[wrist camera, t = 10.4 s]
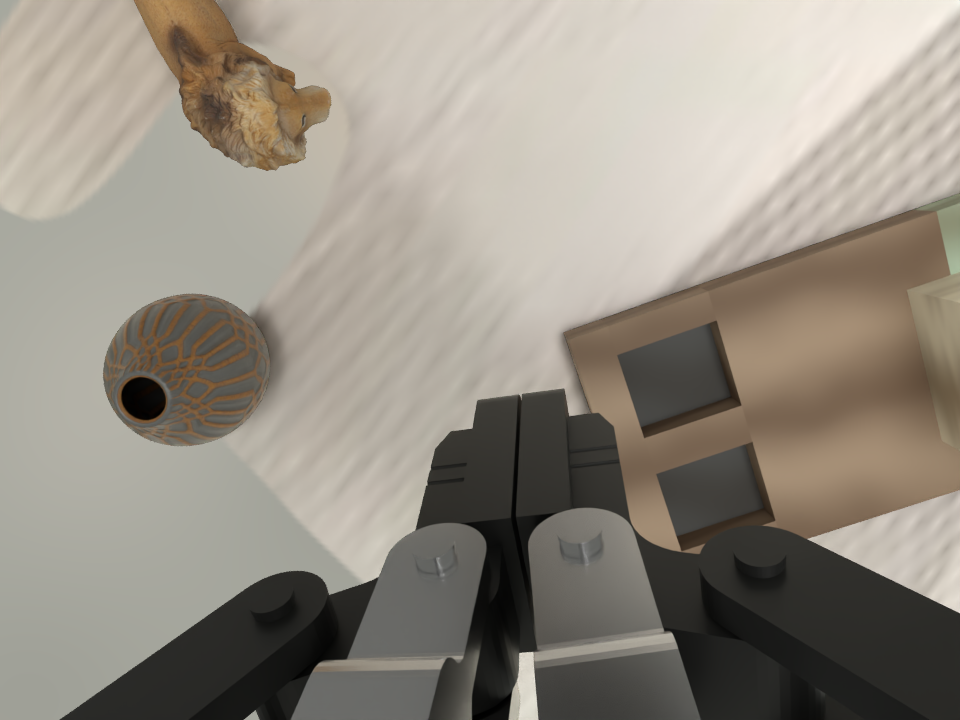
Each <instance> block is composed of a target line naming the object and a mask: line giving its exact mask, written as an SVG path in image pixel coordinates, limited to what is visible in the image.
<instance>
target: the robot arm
mask: <svg viewBox="0 0 960 720" xmlns="http://www.w3.org/2000/svg"><path fill="white" fill-rule="evenodd" d="M427 483H428V486H426V489H425V493H424V497H423V502H422V506H421V510H420V514H419V518H418V522H417V526H416V530H415V531H414V532H412V533H410V534H408V535H407V536H405V537H404V538H402V539H401V540H400V541H399V542H398V543H397V544H396V545H395V546H394V547H393V548H392V549H391V551H390V552H389V554H388V556H387V558H386V560H385V563H384V565H383V568H382V571H381V573H380V576H379V577H378V578H376V579H374V580H372V581H369V582H367V583H364V584H361V585H358V586H355V587H352V588H349V589H346V590H343V591H340V592H337V593H334V594H331V595H329V593H328V590H327V587H326V584H325V582H324V581H323V580H322V579H321V578H320V577H318V576H317V575H315V574H313V573H309V572H305V571H291V572H290V571H289V572H284V573H279V574H275V575H272V576H270V577H267V578H264V579H262V580H260V581H258V582H256V583H254V584H253V585H251V586H250V587H248V588H246V589H245V590H244V591H242V592H241V593H239V594H238V595H236V596H235V597H234V598H233V599H231V600H229V601H228V602H227V603H225V604H224V605H222V606H221V607H219V608H218V609H217V610H215V611H214V612H212V613H211V614H209V615H208V616H207V617H205V618H204V619H202V620H201V621H200V622H198V623H197V624H195V625H194V626H192V627H191V628H190V629H188V630H187V631H185V632H184V633H182V634H181V635H180V636H178V637H177V638H175V639H174V640H172V641H171V642H170V643H168V644H167V645H165V646H164V647H163V648H161V649H160V650H158V651H157V652H155V653H154V654H153V655H151V656H150V657H148V658H147V659H146V660H144V661H143V662H141V663H140V664H138V665H137V666H135V667H134V668H133V669H131V670H130V671H128V672H127V673H126V674H124V675H123V676H121V677H120V678H118V679H117V680H116V681H114V682H113V683H112V684H110V685H108V686H107V687H106V688H104V689H103V690H101V691H100V692H98V693H97V694H96V695H94V696H93V697H92V698H90V699H89V700H87V701H86V702H84V703H83V704H81V705H80V706H79V707H77V708H76V709H74V710H73V711H72V712H70V713H69V714H67V715H66V716H64V717H63V718H62V719H60V720H244V719H245V718H246V717H248V716H249V715H250V714H251V713H252V712H254V711H255V710H256V712H257V715H258V717H259V719H260V720H518V717H519V709H520V693H519V688H518V684H517V678H518V672H519V653H522V652H534V671H535V682H536V694H537V706H538V718H539V720H960V613H958V612H956V611H954V610H952V609H950V608H948V607H946V606H944V605H941V604H939V603H937V602H935V601H933V600H931V599H929V598H927V597H925V596H923V595H921V594H919V593H917V592H915V591H913V590H911V589H908V588H906V587H904V586H902V585H900V584H898V583H896V582H894V581H892V580H890V579H888V578H886V577H884V576H882V575H880V574H878V573H875V572H873V571H871V570H869V569H867V568H865V567H863V566H861V565H859V564H857V563H855V562H853V561H851V560H849V559H847V558H845V557H842V556H840V555H838V554H836V553H834V552H832V551H830V550H828V549H826V548H824V547H822V546H820V545H818V544H816V543H814V542H812V541H809V540H807V539H805V538H803V537H801V536H799V535H797V534H795V533H792V532H790V531H787V530H784V529H780V528H776V527H770V526H759V525H754V526H741V527H736V528H732V529H728V530H726V531H723V532H721V533H719V534H717V535H715V536H714V537H712V538H711V539H710V540H709V541H707V542H706V544H705V545H704V546H703V548H702V550H701V552H700V554H694V553H686V552H679V551H673V550H669V549H666V548H662V547H660V546H657V545H655V544H653V543H651V542H649V541H648V540H646V539H645V538H643V537H642V536H641V535H640V534H639V533H638V532H637V531H636V530H635V528H634V527H633V525H632V523H631V520H630V516H629V510H628V504H627V499H626V493H625V487H624V482H623V476H622V470H621V465H620V459H619V453H618V448H617V442H616V436H615V430H614V426H613V425H612V424H610V423H609V422H608V421H607V420H606V419H605V418H604V417H603V416H602V415H601V414H600V413H592V414H584V415H576V416H569V413H568V407H567V401H566V395H565V390H564V389H557V390H549V391H541V392H534V393H526V394H522V401H521V397H520V395H512V396H505V397H497V398H490V399H482V400H478V401H477V405H476V411H475V417H474V423H473V429H467V430H459V431H451V432H450V433H449V434H448V435H447V436H446V438H445V439H444V440H443V441H442V442H441V443H440V444H439V445H438V446H437V448H436V449H435V452H434V456H433V460H432V465H431V471H430V473H429V477H428V481H427Z"/></svg>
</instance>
